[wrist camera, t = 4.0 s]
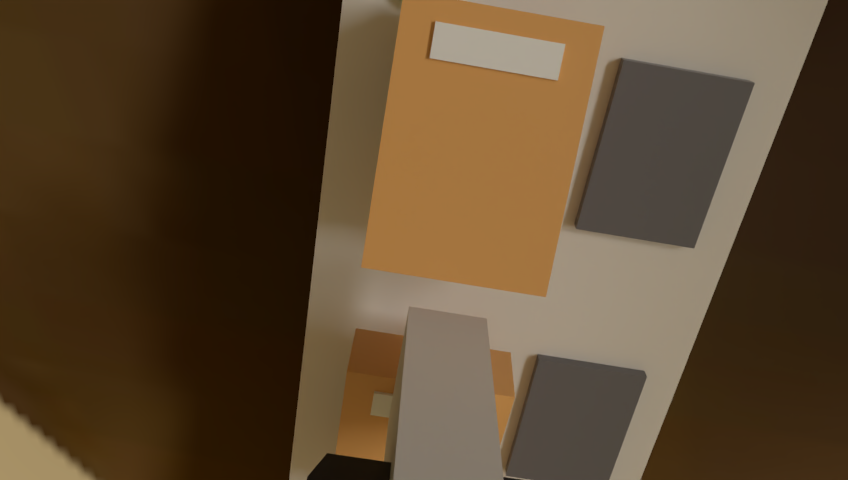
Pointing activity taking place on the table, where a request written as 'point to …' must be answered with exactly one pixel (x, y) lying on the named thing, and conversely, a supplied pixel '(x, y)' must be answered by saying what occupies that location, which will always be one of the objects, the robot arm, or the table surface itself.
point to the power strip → (573, 226)
